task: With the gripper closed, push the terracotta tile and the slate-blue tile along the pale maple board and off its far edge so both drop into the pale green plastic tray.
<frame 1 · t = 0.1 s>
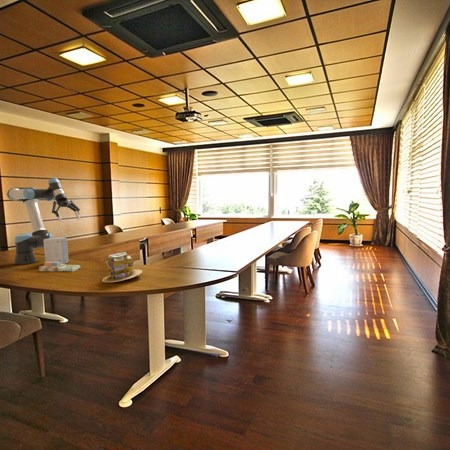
hand: (70, 219, 227), 36 cm above the table, tool tilted 35°, fingers open, 13 cm apart
board: (52, 269, 223), on the table
hard drive box: (57, 263, 243), on the table
tray: (69, 269, 222), on the table
slate tile: (56, 265, 223), point 3 cm above the table, touching board
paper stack: (122, 278, 198), on the table
terracotta tile: (49, 265, 223), point 3 cm above the table, touching board
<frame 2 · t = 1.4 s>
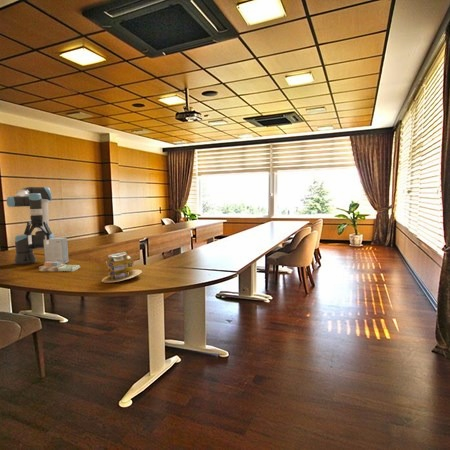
hand: (38, 244, 223), 19 cm above the table, tool pointing down, fingers open, 12 cm apart
nothing on the table moved.
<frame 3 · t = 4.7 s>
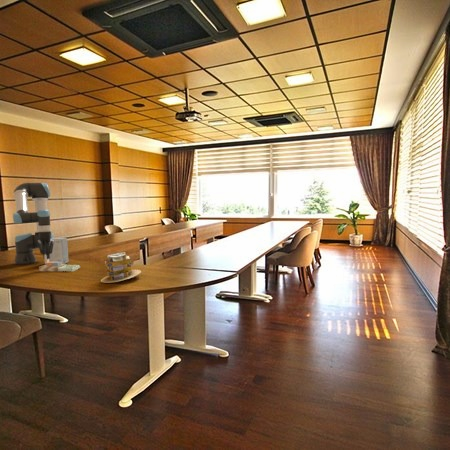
hand: (47, 263, 223), 5 cm above the table, tool pointing down, fingers closed
slate tile: (57, 265, 223), point 3 cm above the table, touching terracotta tile
terracotta tile: (51, 265, 223), point 3 cm above the table, touching gripper, slate tile
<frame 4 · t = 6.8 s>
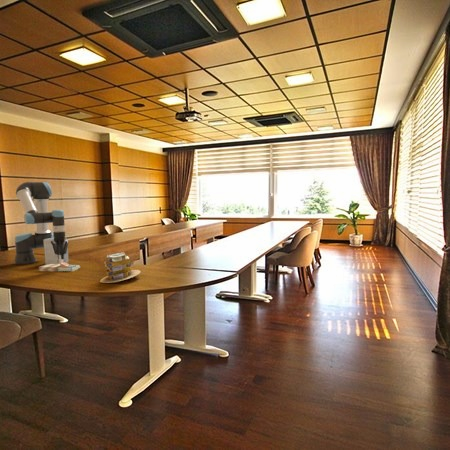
hand: (61, 263, 222), 4 cm above the table, tool pointing down, fingers closed
slate tile: (70, 265, 221), point 3 cm above the table, tilted 180°, touching terracotta tile, tray
terracotta tile: (64, 267, 222), point 2 cm above the table, tilted 23°, touching gripper, slate tile, tray
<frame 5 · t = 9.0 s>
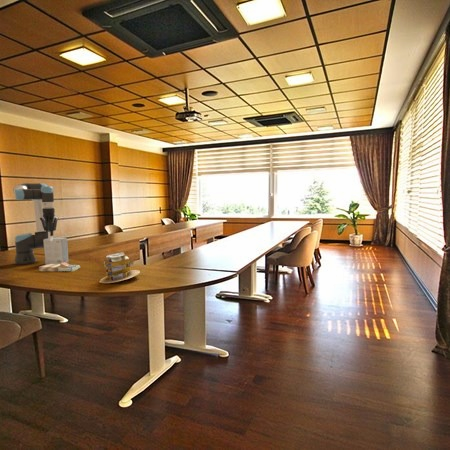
hand: (50, 240, 221), 21 cm above the table, tool pointing down, fingers closed
terracotta tile: (64, 267, 222), point 2 cm above the table, tilted 23°, touching slate tile, tray
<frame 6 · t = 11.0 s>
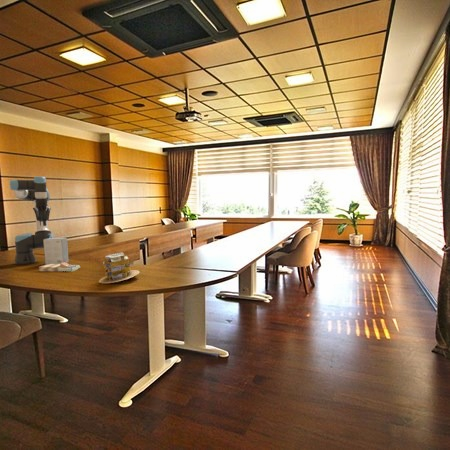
hand: (43, 230, 225), 28 cm above the table, tool pointing down, fingers closed
at the end: terracotta tile inside the target area on the tray (4.0 cm from its centre), point 1.9 cm above the tray's base; slate tile inside the target area on the tray (1.2 cm from its centre), point 3.0 cm above the tray's base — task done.
